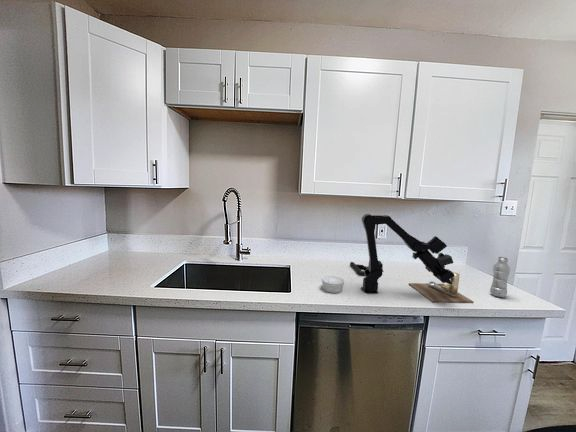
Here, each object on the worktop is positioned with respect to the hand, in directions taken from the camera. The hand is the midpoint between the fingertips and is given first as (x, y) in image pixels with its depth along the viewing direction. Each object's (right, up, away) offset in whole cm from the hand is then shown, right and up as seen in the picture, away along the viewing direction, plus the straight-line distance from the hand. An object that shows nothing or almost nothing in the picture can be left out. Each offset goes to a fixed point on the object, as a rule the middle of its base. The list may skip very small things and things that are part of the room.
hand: (450, 283), depth 119 cm
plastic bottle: (+28, -8, +6) cm, 30 cm away
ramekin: (-56, -5, +7) cm, 57 cm away
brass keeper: (+2, -6, +6) cm, 9 cm away
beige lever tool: (0, -6, +7) cm, 9 cm away
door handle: (-30, -3, +37) cm, 48 cm away
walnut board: (-2, -7, +7) cm, 10 cm away
